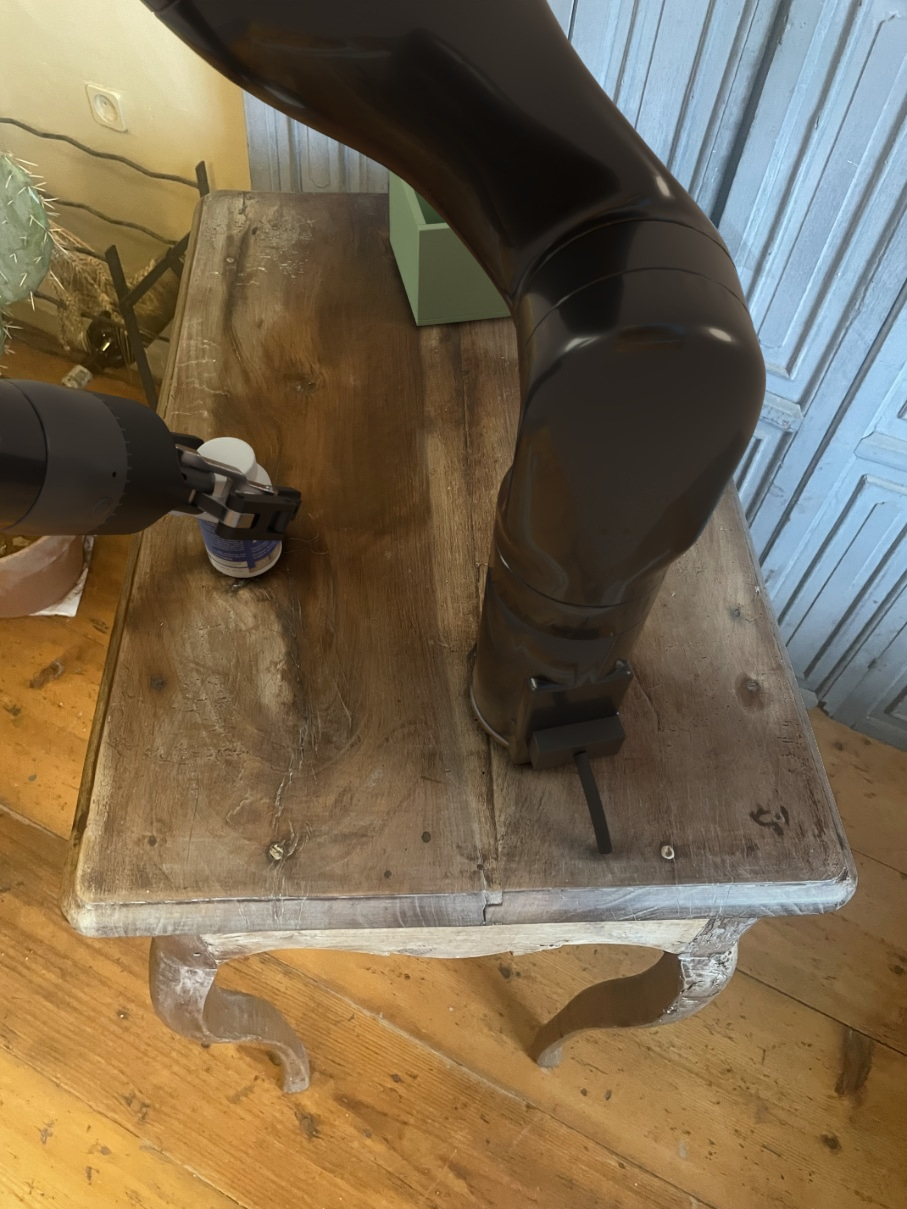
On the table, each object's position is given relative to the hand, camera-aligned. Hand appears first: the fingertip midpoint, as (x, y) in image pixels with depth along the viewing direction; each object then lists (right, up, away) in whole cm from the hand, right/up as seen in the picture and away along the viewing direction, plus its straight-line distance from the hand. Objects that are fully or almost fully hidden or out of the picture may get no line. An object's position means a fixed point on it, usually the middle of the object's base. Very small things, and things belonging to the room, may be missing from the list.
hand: (243, 478), depth 59 cm
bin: (+16, +23, +25) cm, 38 cm away
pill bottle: (-1, -5, +5) cm, 7 cm away
